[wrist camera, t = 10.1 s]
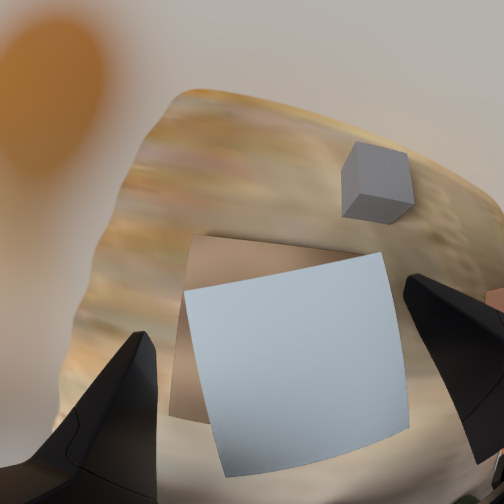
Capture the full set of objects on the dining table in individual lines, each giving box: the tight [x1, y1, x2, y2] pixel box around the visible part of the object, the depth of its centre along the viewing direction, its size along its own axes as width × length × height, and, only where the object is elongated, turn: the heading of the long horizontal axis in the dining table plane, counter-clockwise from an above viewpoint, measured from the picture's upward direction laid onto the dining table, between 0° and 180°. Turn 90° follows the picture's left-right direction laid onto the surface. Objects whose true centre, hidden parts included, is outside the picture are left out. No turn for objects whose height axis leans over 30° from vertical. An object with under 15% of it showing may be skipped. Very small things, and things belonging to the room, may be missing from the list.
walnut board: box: [169, 234, 365, 424], centre depth 16 cm, size 12×12×1 cm
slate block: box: [184, 252, 409, 477], centre depth 11 cm, size 4×4×11 cm
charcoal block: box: [341, 141, 415, 224], centre depth 18 cm, size 4×4×4 cm
